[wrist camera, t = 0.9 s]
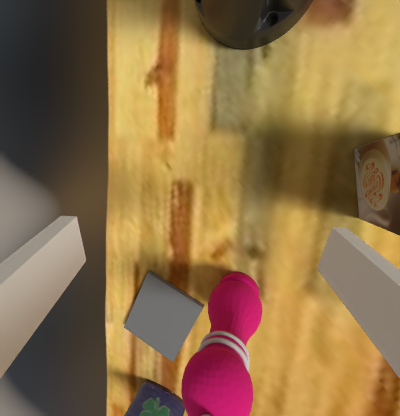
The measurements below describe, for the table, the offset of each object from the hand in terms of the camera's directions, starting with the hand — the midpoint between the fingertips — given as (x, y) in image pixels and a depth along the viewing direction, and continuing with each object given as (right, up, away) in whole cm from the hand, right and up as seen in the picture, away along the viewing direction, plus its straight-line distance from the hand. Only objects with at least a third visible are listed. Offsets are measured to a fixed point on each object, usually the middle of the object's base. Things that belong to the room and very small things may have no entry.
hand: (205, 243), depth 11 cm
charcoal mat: (-7, -17, +27) cm, 33 cm away
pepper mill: (+6, -11, +22) cm, 25 cm away
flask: (-7, -34, +29) cm, 45 cm away
